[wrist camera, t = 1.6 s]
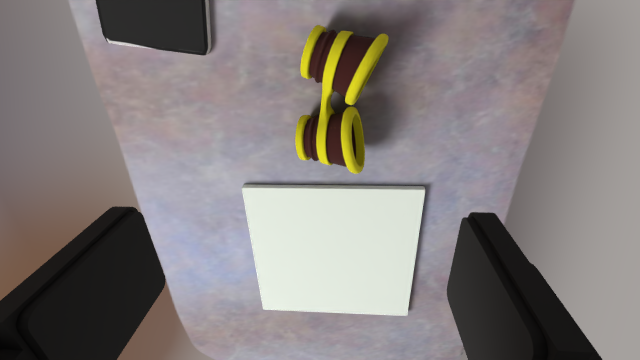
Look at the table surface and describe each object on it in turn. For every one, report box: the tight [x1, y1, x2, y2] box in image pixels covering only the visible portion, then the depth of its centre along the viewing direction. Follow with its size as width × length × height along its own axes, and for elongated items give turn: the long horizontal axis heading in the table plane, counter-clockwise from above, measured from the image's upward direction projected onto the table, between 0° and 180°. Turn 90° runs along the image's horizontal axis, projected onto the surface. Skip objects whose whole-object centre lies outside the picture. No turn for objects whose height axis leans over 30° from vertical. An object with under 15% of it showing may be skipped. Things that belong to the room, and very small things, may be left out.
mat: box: [242, 184, 425, 316], centre depth 32 cm, size 16×16×1 cm
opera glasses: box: [295, 25, 389, 174], centre depth 23 cm, size 10×5×5 cm, turn 174°
